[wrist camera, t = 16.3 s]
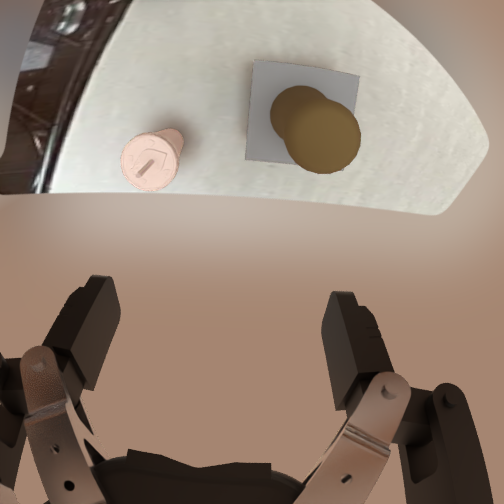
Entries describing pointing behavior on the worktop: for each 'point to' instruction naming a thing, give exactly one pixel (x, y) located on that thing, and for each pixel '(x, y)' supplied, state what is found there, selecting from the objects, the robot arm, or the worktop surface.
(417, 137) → the worktop surface
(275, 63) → the slate top block
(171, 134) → the smoothie
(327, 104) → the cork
